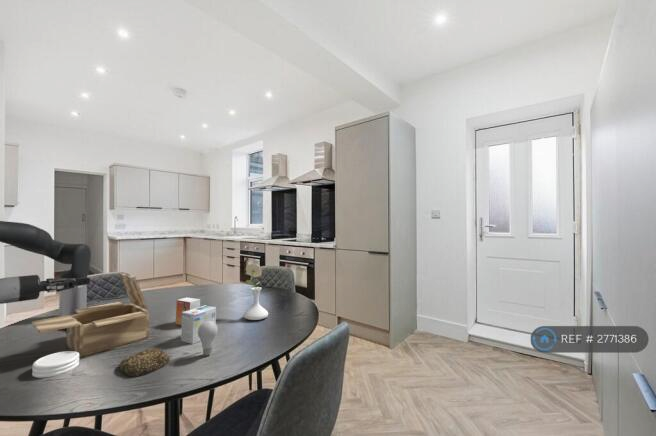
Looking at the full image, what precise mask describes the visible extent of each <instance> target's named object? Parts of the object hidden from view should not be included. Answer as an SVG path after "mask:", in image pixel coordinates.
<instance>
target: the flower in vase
mask: <svg viewBox="0 0 656 436" xmlns="http://www.w3.org/2000/svg"><path fill="white" fill-rule="evenodd" d="M245 271H246V273H247V274H248V275H249V276H250V277H251V280H250V279H247V280H246V281H245V282H244V284H247V285H252V286H253V287H251V288H250V290H251V292H252V295H253V304H252V305H251V306H250V307H249V308H248V309H246V310H245V311H244V312H243V314H242V317H243V319H245V320H249V321H258V320H262V319H263V320H264V319H265V318H267V317H268V316H269V312H268V310H267V309H266V308H265V307H263V306H262V305H261V304H260V301H259V300H260V299H259V298H260V293H261V290H262V289H263V288H262V287H260V286H257V285H259V284H261V281H258V282H257V283H255V284H254V282H253V278H257V277H258V278H259V277H261V276H262V273H263V270H262V268H261V267H260V265H257V263H249V264H247V265H245Z"/></svg>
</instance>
